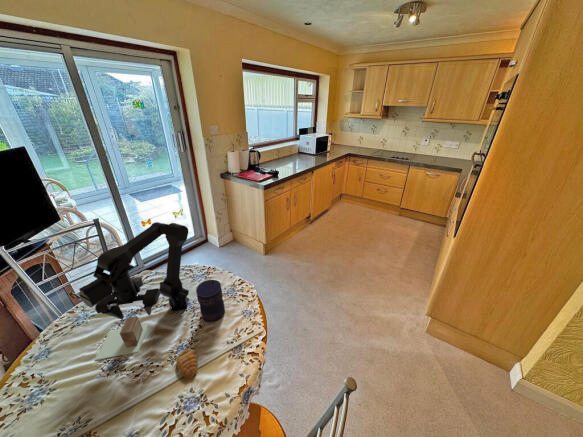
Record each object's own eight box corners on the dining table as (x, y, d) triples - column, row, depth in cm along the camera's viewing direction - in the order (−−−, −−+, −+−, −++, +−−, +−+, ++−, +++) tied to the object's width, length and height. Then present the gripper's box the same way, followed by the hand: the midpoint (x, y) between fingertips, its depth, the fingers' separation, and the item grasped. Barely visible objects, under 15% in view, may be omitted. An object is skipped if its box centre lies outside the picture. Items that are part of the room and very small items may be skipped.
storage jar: (216, 325, 96) (211, 299, 89) (196, 319, 99) (190, 293, 92) (229, 307, 105) (225, 282, 98) (211, 301, 107) (206, 277, 100)
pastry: (202, 371, 80) (200, 365, 78) (182, 384, 77) (179, 378, 75) (194, 350, 87) (192, 344, 85) (175, 361, 83) (173, 354, 82)
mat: (148, 324, 96) (148, 323, 96) (138, 351, 86) (138, 351, 86) (110, 331, 93) (109, 330, 93) (95, 360, 83) (94, 359, 83)
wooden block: (143, 329, 94) (137, 315, 90) (137, 345, 88) (131, 331, 84) (133, 331, 93) (127, 317, 89) (126, 347, 87) (119, 333, 83)
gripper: (159, 266, 87) (168, 296, 95) (103, 272, 84) (117, 303, 91) (149, 287, 78) (161, 318, 85) (85, 295, 74) (104, 328, 81)
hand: (136, 316), depth 86 cm, fingers open, 9 cm apart
